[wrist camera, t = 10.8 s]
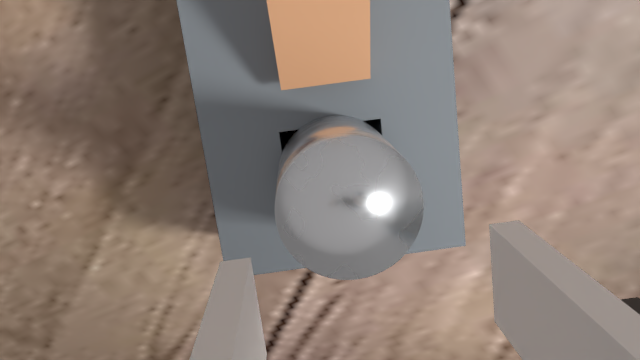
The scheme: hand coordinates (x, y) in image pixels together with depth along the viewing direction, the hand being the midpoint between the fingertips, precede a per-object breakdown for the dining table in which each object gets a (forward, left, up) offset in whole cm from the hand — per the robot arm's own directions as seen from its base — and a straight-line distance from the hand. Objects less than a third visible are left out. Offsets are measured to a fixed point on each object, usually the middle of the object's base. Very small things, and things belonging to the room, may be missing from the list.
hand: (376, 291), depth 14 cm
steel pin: (0, 0, -19) cm, 19 cm away
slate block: (+6, 0, -19) cm, 20 cm away
